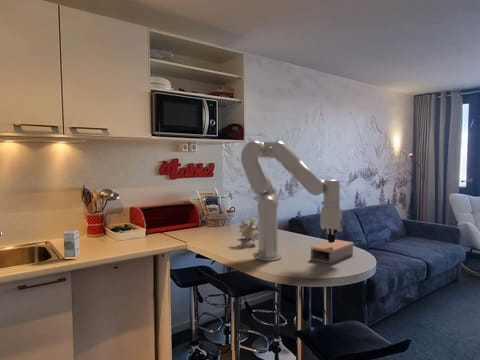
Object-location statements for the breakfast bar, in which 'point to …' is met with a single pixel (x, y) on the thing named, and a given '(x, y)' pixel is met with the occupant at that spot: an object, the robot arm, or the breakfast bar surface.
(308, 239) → the breakfast bar surface
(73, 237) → the syrup box
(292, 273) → the breakfast bar surface
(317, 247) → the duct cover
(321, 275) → the breakfast bar surface
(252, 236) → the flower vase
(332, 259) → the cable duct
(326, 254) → the grey plastic bar
